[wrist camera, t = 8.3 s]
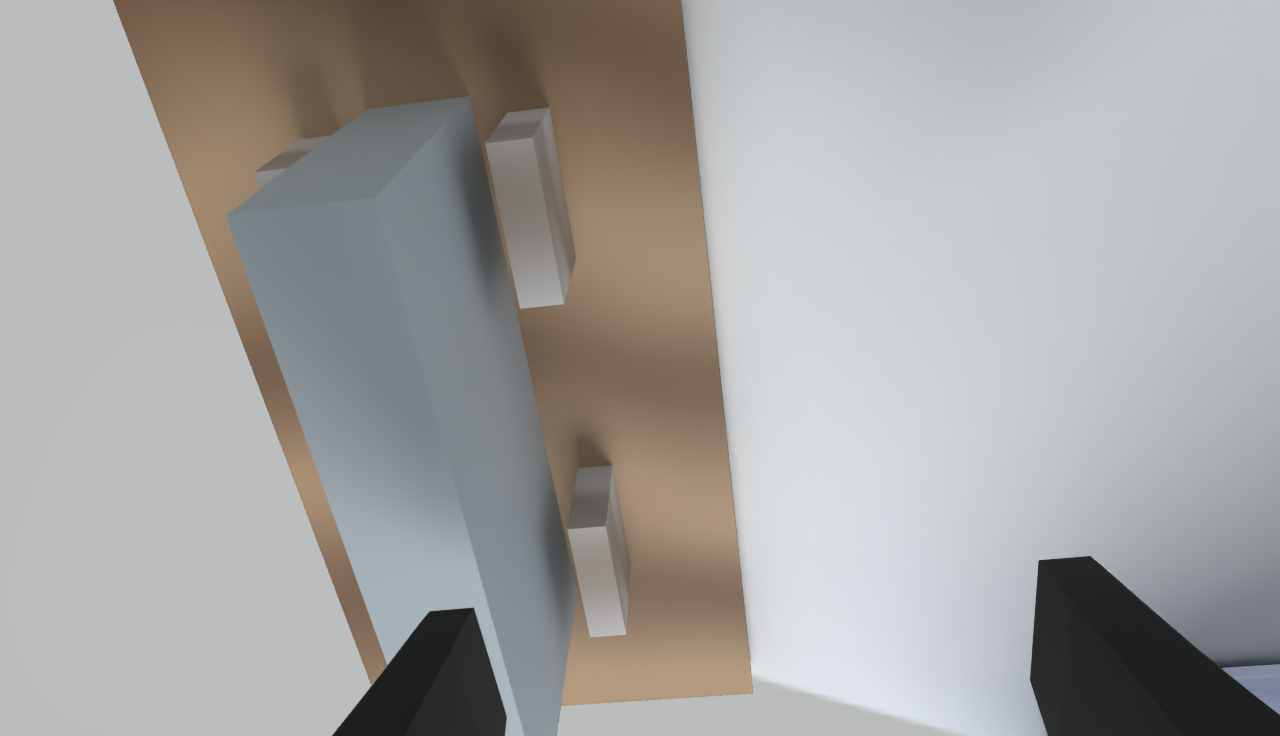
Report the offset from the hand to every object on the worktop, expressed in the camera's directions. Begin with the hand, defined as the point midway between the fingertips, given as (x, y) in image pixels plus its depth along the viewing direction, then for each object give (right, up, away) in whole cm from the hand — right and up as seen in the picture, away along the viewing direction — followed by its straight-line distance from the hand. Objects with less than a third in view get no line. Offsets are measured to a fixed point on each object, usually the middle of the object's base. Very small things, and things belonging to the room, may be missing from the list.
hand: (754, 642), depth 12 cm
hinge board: (-5, +4, +9) cm, 11 cm away
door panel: (-5, +3, +8) cm, 10 cm away
